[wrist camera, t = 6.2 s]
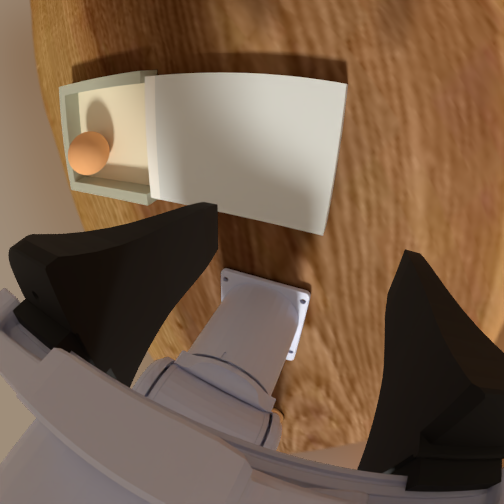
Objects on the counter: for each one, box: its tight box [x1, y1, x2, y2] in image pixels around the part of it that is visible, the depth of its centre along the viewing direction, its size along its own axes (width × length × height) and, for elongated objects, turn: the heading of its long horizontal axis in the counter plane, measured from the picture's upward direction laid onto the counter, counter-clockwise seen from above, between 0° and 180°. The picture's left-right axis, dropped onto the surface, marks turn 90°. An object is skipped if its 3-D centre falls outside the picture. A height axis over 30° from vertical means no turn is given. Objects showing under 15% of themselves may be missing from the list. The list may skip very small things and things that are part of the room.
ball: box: [68, 131, 110, 175], centre depth 22 cm, size 4×4×4 cm
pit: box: [59, 70, 157, 205], centre depth 22 cm, size 11×11×2 cm
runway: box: [145, 73, 348, 236], centre depth 19 cm, size 10×14×2 cm
